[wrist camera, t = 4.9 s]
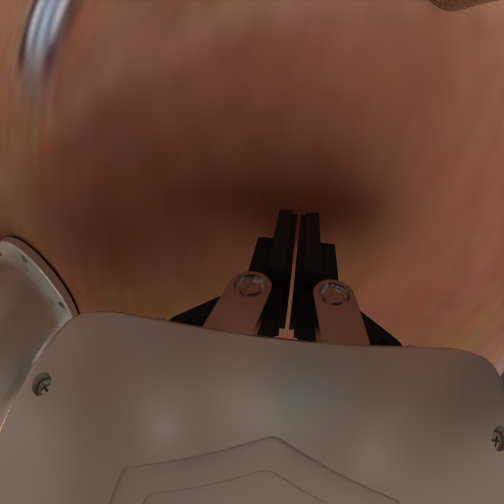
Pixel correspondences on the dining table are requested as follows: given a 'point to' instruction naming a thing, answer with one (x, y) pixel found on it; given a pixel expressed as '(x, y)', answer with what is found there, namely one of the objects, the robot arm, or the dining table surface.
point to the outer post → (458, 4)
